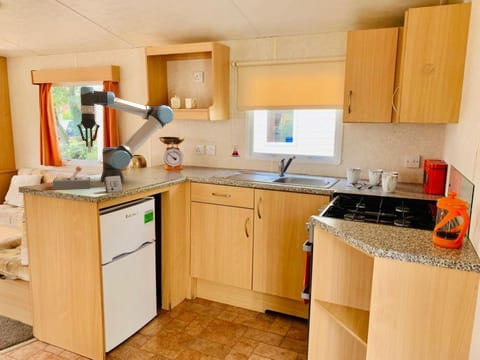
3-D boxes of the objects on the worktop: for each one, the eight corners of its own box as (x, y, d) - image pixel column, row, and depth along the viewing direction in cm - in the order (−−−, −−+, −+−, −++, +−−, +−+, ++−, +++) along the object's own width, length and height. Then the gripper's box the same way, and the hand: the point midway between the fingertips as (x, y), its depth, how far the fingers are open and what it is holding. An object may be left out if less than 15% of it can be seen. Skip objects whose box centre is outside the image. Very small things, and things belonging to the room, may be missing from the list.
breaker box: (90, 185, 231) (89, 176, 230) (90, 188, 219) (90, 180, 218) (55, 186, 223) (54, 177, 222) (53, 189, 211) (52, 181, 210)
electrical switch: (108, 193, 206) (107, 177, 205) (103, 193, 209) (102, 177, 208) (122, 191, 213) (121, 175, 212) (117, 191, 216) (116, 175, 216)
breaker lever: (73, 181, 223) (81, 167, 224) (72, 182, 218) (81, 168, 219) (69, 179, 222) (77, 165, 223) (68, 180, 217) (77, 166, 218)
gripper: (75, 112, 213) (77, 152, 217) (99, 113, 218) (101, 152, 222) (76, 112, 220) (78, 151, 224) (99, 113, 225) (100, 151, 229)
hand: (89, 152), depth 223 cm, fingers closed
